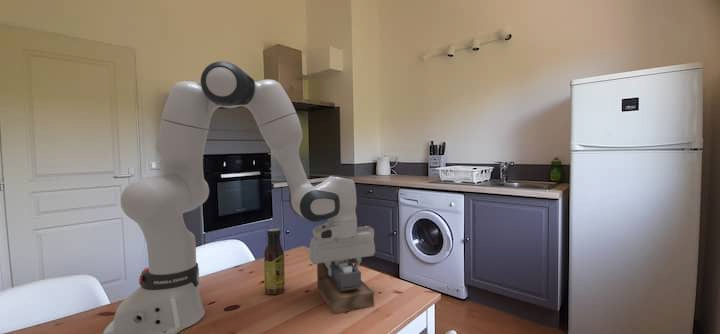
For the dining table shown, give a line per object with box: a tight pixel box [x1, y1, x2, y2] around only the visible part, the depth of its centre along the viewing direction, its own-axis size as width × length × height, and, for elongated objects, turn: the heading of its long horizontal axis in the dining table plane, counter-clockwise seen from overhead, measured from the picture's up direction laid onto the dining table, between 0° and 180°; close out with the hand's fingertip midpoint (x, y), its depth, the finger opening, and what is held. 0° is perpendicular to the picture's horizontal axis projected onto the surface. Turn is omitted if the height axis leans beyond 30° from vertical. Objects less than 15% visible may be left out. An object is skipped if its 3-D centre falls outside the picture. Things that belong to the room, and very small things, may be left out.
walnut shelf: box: [316, 259, 375, 315], centre depth 99 cm, size 12×18×16 cm, turn 21°
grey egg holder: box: [328, 260, 362, 291], centre depth 99 cm, size 6×14×5 cm, turn 21°
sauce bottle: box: [263, 228, 286, 295], centre depth 104 cm, size 7×6×20 cm
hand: (343, 273), depth 99 cm, fingers closed on grey egg holder, 6 cm apart
